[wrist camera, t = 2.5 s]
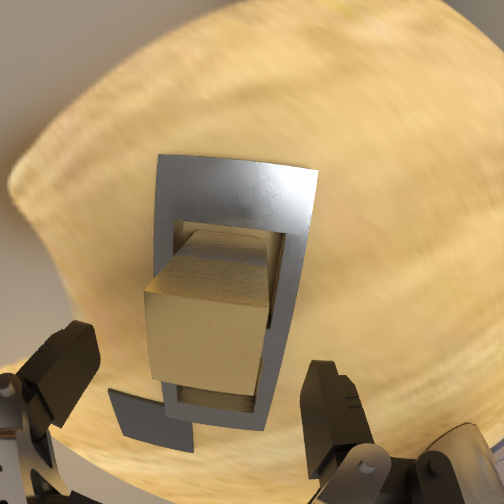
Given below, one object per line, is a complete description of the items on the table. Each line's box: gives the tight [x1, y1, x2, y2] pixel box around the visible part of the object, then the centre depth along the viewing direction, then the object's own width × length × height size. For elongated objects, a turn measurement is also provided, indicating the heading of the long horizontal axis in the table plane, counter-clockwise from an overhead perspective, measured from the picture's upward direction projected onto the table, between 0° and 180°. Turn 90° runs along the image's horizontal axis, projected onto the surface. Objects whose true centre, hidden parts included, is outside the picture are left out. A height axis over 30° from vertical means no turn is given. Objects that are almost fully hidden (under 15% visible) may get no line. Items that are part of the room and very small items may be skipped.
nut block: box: [144, 230, 269, 396], centre depth 14 cm, size 4×4×9 cm
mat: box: [108, 389, 194, 453], centre depth 25 cm, size 9×9×1 cm
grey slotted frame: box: [154, 154, 318, 431], centre depth 19 cm, size 9×22×2 cm, turn 173°
